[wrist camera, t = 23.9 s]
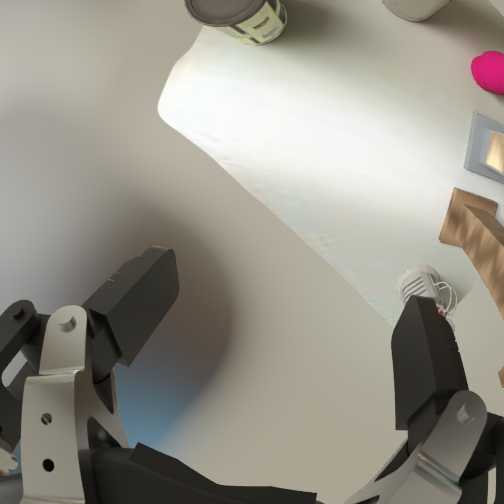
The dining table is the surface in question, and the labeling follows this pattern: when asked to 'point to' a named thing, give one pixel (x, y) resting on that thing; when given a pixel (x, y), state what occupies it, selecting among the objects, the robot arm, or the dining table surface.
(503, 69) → the pepper mill
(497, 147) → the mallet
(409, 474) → the robot arm
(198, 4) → the coffee can
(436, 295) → the french press
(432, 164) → the dining table surface
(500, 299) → the walnut stand
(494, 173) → the slate pedestal
